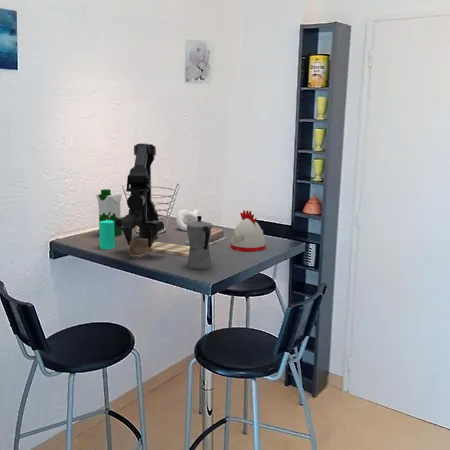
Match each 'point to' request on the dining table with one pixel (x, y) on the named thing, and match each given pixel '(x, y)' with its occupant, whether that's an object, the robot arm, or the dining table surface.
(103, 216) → the milk carton
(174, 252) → the board
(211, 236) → the packaged product
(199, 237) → the coffeepot
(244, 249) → the kitchen timer
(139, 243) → the block
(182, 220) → the white knot sculpture
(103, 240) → the candle
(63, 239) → the dining table surface
